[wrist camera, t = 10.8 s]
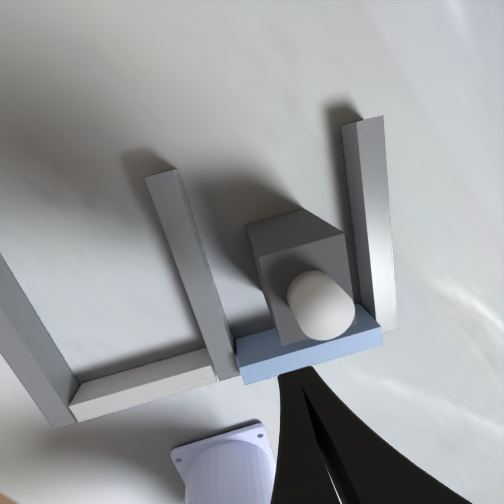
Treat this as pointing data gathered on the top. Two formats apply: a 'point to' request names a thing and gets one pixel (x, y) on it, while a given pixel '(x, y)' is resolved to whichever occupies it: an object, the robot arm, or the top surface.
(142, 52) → the top surface
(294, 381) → the robot arm
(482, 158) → the top surface
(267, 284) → the cord connector
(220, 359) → the cable duct
